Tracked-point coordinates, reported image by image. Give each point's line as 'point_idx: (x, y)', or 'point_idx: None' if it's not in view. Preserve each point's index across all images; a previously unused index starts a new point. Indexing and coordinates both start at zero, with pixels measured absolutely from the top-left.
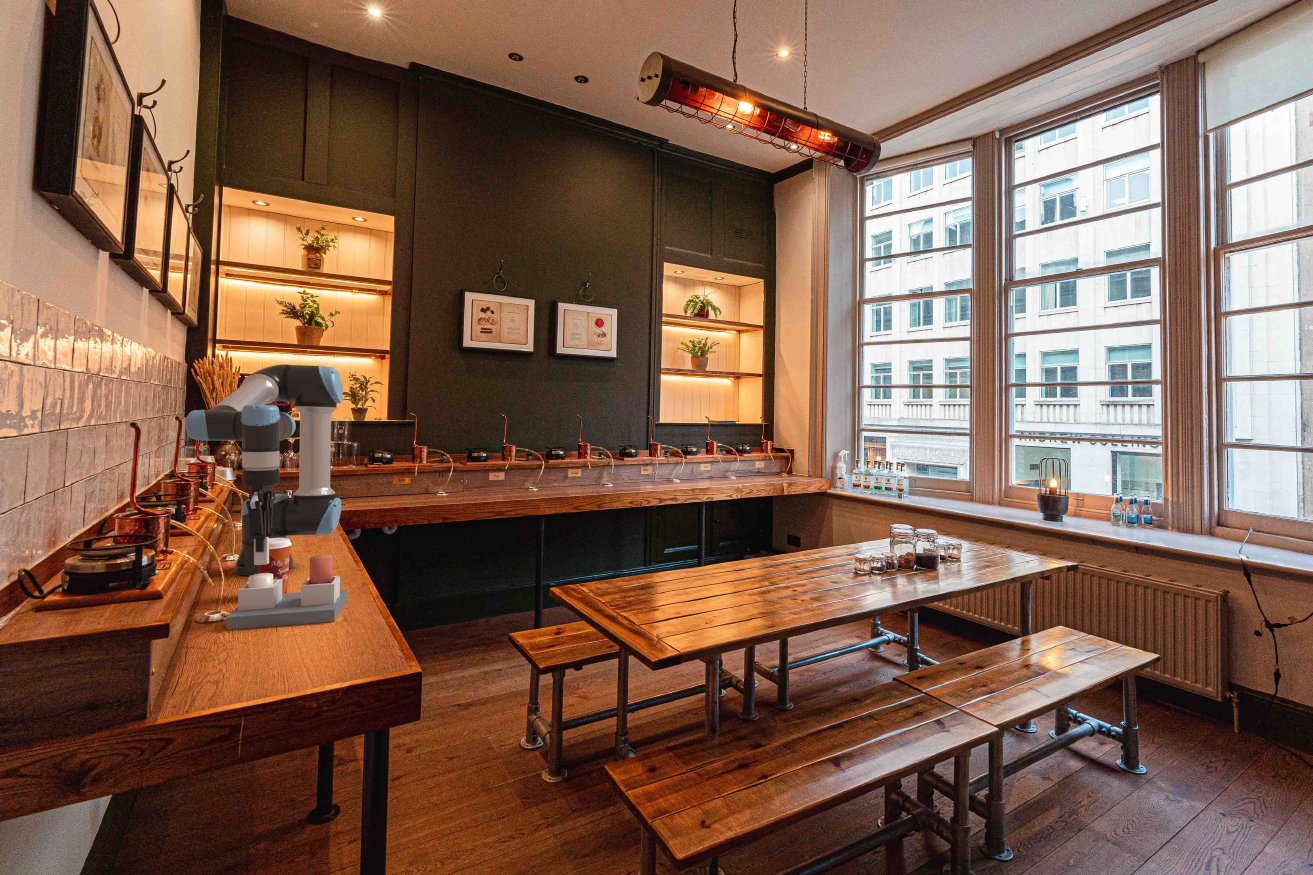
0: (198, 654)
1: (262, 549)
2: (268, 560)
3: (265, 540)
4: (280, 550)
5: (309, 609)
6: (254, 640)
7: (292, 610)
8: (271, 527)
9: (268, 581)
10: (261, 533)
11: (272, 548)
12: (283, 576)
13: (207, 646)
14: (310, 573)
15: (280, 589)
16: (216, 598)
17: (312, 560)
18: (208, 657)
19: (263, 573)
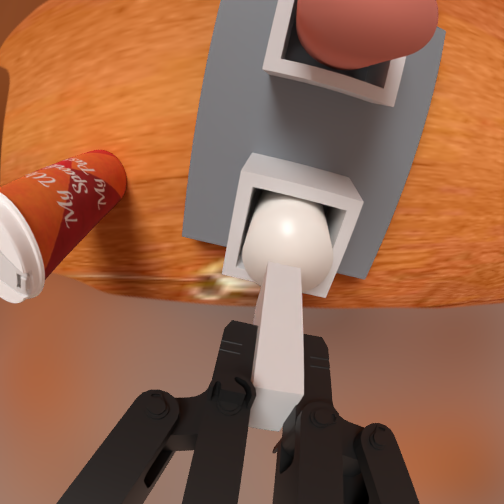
0: (459, 290)
1: (324, 350)
2: (276, 271)
3: (299, 384)
4: (32, 218)
5: (417, 86)
6: (459, 211)
7: (403, 130)
8: (136, 415)
9: (322, 224)
10: (400, 456)
11: (38, 252)
12: (85, 170)
13: (433, 283)
14: (373, 64)
15: (270, 166)
16: (109, 283)
17: (415, 50)
18: (482, 276)
19: (249, 250)
